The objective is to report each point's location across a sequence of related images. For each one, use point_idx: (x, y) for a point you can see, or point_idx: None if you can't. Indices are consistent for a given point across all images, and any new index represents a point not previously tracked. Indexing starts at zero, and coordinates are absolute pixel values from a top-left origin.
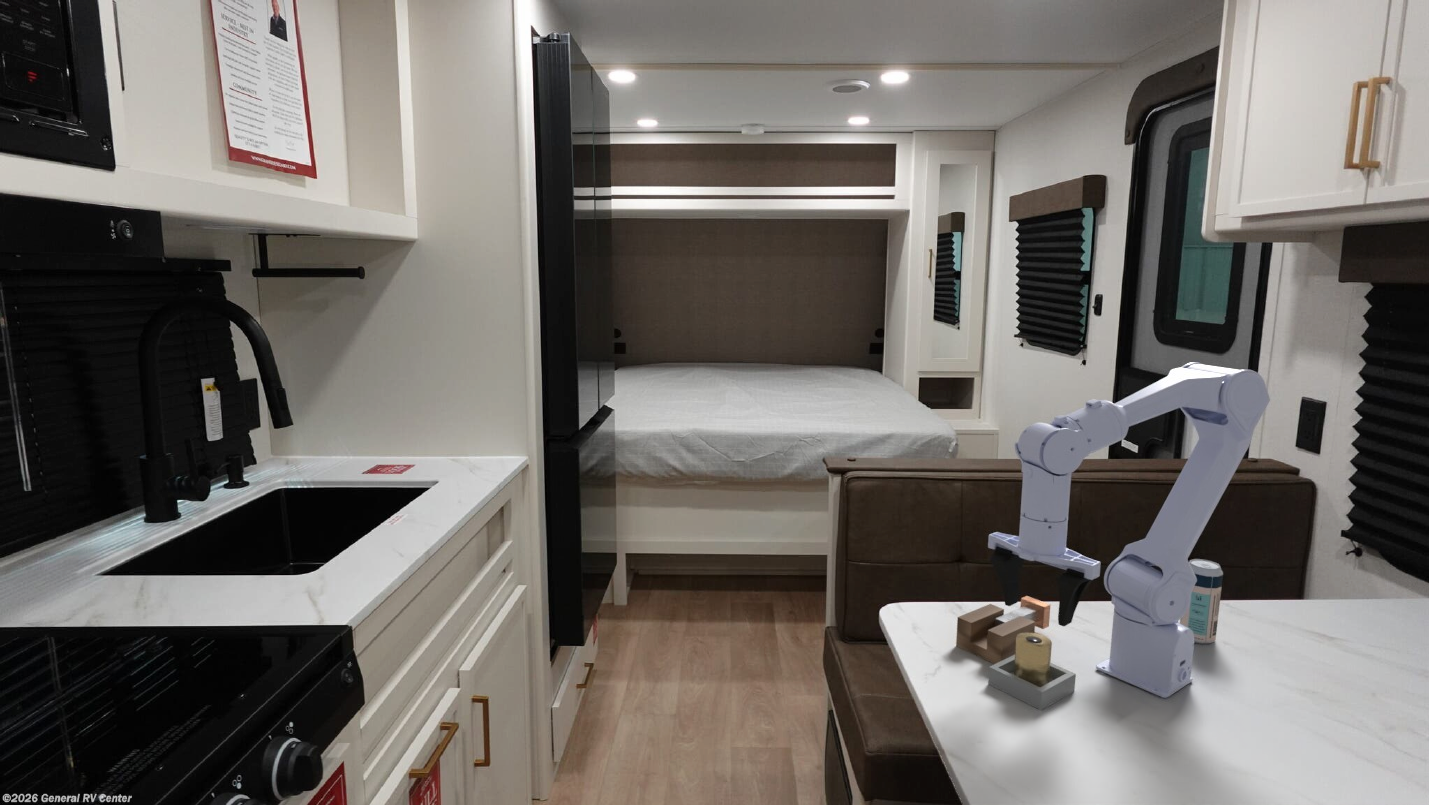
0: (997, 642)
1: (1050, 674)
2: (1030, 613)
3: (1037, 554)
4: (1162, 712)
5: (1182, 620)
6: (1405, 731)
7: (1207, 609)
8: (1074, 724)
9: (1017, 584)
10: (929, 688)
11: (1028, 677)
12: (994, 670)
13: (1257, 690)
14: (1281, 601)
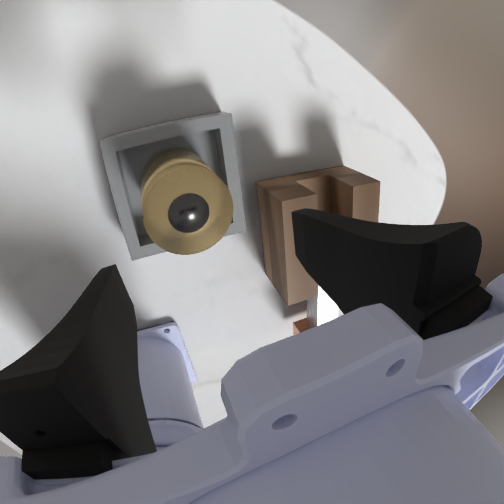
0: (284, 193)
1: None
2: (317, 321)
3: (258, 466)
4: (49, 319)
5: None
6: (18, 448)
7: None
8: (50, 164)
9: (329, 285)
10: (264, 8)
11: (157, 158)
12: (217, 115)
13: None
14: None
